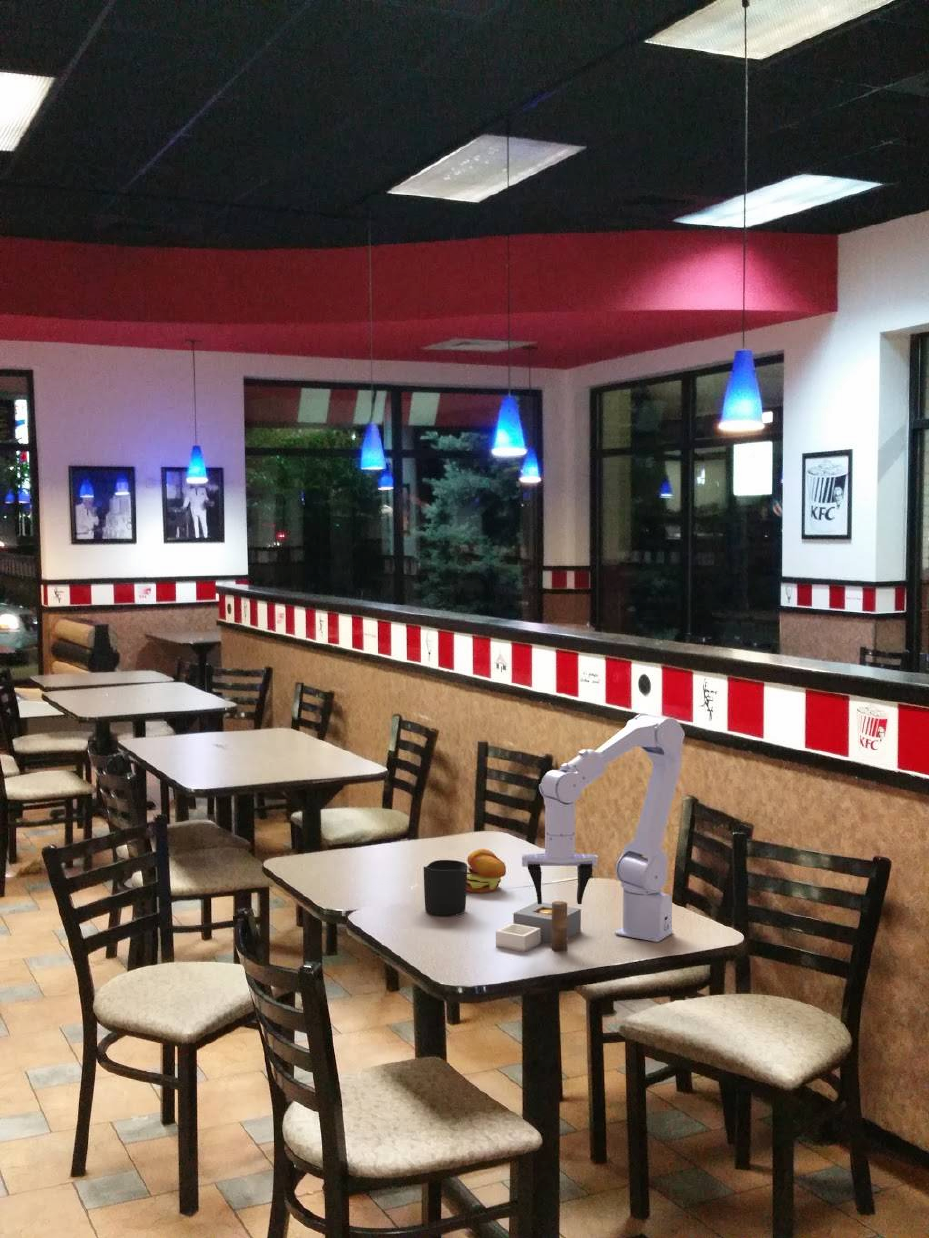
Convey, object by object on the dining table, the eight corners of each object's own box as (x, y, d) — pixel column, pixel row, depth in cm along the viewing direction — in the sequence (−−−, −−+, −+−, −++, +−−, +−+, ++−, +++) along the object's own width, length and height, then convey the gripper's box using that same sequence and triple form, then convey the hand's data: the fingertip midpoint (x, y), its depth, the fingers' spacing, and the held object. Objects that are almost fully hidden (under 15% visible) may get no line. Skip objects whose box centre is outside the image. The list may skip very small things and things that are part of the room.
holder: (540, 943, 240) (540, 928, 240) (524, 951, 235) (524, 936, 235) (512, 938, 244) (512, 923, 244) (495, 946, 238) (495, 931, 238)
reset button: (564, 917, 248) (564, 910, 248) (552, 923, 244) (552, 916, 244) (542, 913, 250) (542, 907, 250) (530, 919, 246) (530, 912, 246)
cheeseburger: (469, 879, 289) (479, 840, 287) (508, 896, 284) (517, 856, 282) (447, 888, 280) (456, 847, 279) (486, 906, 275) (496, 865, 273)
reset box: (580, 930, 249) (580, 908, 248) (557, 943, 240) (557, 920, 240) (537, 923, 254) (537, 901, 254) (513, 935, 246) (513, 912, 245)
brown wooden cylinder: (569, 948, 237) (570, 902, 237) (562, 952, 235) (562, 906, 234) (556, 945, 239) (556, 900, 238) (548, 949, 236) (548, 903, 236)
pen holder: (474, 913, 261) (474, 867, 260) (435, 919, 256) (435, 872, 256) (455, 903, 269) (455, 858, 269) (416, 908, 265) (416, 862, 264)
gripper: (594, 828, 240) (594, 897, 240) (521, 828, 240) (520, 897, 240) (599, 836, 233) (598, 907, 233) (523, 836, 233) (522, 907, 233)
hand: (559, 902), depth 236 cm, fingers open, 7 cm apart
